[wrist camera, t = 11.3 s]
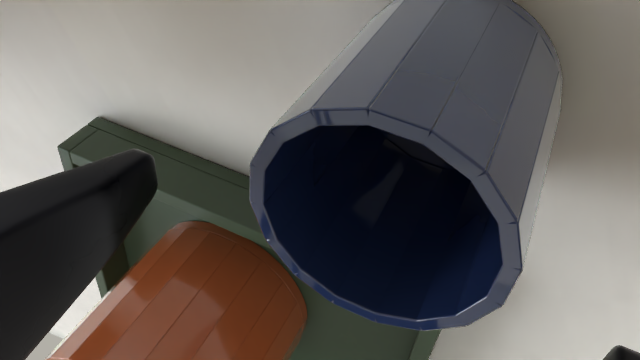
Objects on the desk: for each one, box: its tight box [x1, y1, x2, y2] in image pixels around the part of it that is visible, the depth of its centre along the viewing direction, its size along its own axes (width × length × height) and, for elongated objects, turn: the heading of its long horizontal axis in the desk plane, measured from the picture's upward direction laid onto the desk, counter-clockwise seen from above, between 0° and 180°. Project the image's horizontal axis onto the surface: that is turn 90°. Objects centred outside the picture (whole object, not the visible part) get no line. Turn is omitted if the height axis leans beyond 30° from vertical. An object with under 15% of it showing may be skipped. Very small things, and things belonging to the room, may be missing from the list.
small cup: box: [249, 0, 563, 331], centre depth 13 cm, size 5×5×6 cm
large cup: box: [44, 221, 307, 360], centre depth 22 cm, size 7×7×7 cm
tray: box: [58, 117, 441, 360], centre depth 23 cm, size 15×12×2 cm
